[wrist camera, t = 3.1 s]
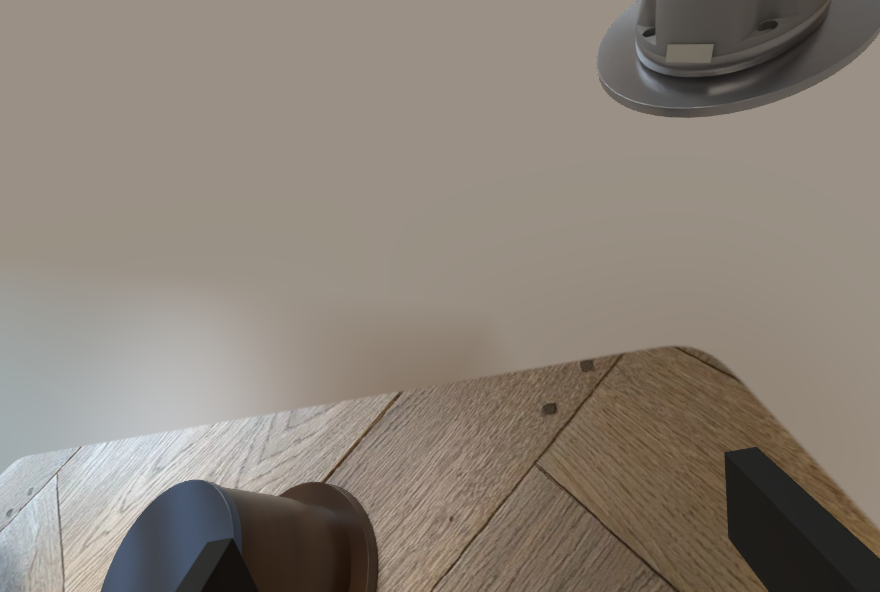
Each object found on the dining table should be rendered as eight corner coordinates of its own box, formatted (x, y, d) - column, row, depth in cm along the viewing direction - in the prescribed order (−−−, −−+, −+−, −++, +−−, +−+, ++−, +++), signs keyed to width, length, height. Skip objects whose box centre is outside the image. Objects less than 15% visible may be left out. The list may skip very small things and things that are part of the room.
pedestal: (314, 453, 37) (198, 418, 28) (410, 557, 29) (292, 556, 20) (218, 589, 35) (57, 600, 26) (295, 745, 27) (101, 840, 18)
